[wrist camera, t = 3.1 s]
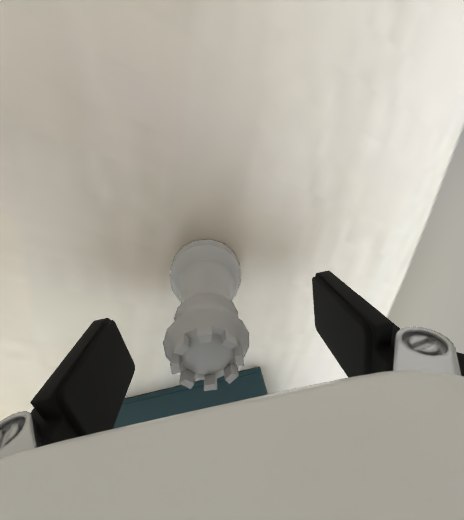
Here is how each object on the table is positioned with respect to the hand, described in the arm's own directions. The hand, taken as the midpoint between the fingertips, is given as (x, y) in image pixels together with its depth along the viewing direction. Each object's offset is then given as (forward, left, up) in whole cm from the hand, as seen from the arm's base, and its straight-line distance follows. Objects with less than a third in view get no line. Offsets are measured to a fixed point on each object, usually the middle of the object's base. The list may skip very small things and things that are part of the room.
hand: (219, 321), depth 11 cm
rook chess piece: (-1, -1, -5) cm, 5 cm away
